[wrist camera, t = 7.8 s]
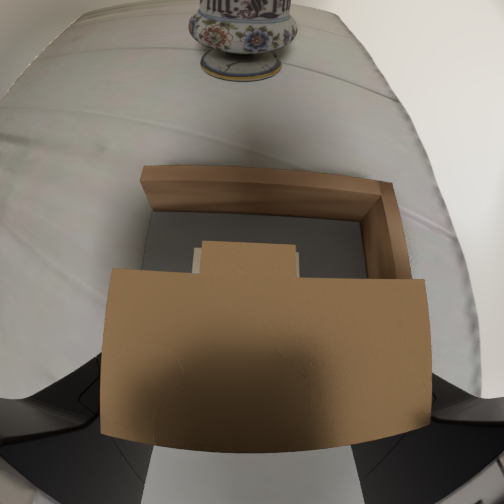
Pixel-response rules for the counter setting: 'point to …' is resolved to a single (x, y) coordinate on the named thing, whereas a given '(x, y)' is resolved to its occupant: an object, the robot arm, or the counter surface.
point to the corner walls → (289, 203)
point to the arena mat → (256, 241)
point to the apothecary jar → (242, 37)
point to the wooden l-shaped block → (262, 355)
